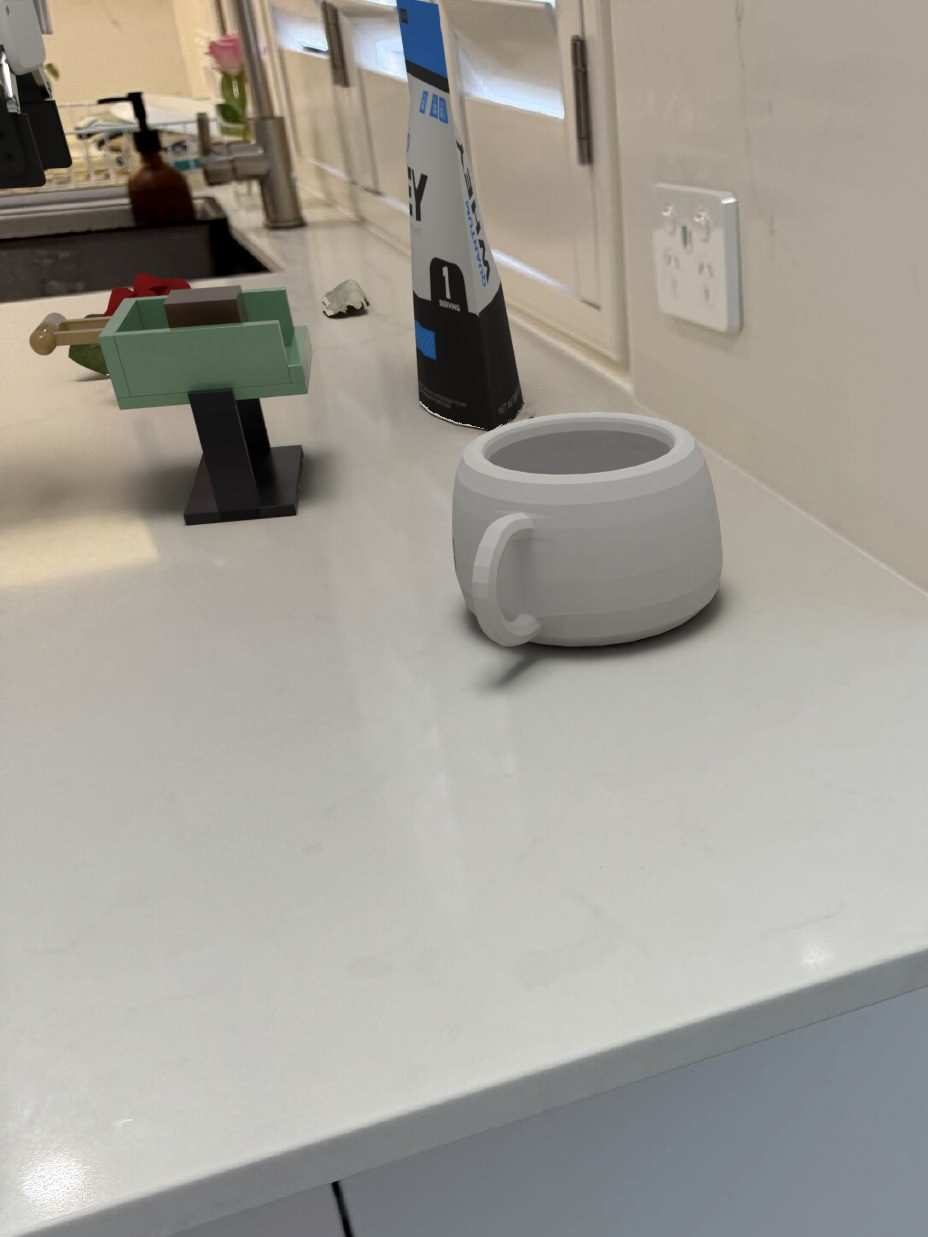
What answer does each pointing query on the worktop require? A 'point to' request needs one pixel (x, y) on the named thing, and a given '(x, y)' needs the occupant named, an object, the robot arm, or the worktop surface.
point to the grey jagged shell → (346, 296)
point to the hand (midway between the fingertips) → (36, 177)
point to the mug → (585, 529)
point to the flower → (142, 287)
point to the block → (205, 306)
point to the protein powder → (451, 249)
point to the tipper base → (239, 463)
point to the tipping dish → (191, 350)
